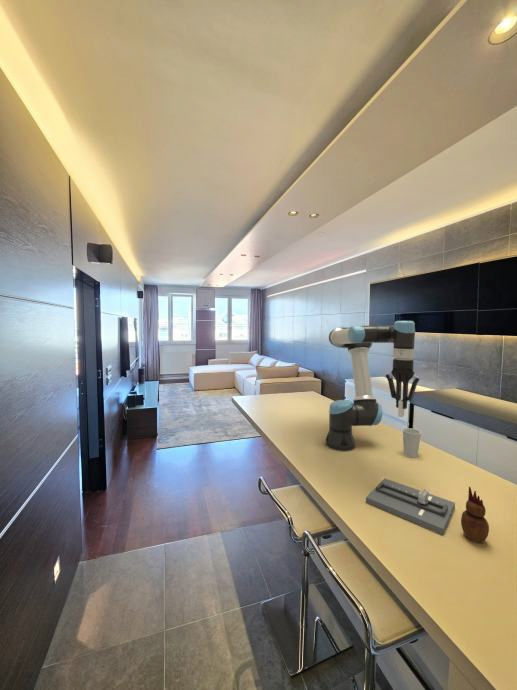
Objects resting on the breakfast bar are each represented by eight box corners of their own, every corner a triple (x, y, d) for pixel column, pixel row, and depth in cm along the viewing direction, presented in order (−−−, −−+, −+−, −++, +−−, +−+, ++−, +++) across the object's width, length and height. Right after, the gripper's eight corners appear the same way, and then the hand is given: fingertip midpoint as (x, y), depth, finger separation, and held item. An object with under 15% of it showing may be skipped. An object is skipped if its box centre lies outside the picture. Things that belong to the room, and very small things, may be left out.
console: (365, 502, 106) (366, 493, 106) (384, 482, 119) (384, 474, 119) (443, 535, 90) (443, 524, 89) (454, 508, 103) (455, 498, 102)
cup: (422, 459, 140) (423, 434, 139) (404, 457, 141) (405, 433, 141) (416, 452, 148) (417, 428, 147) (399, 450, 149) (400, 427, 148)
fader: (416, 505, 101) (416, 492, 100) (420, 499, 104) (420, 487, 104) (426, 509, 99) (426, 496, 98) (429, 503, 102) (430, 490, 102)
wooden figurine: (456, 530, 92) (458, 484, 90) (473, 529, 92) (476, 483, 91) (473, 547, 85) (476, 497, 84) (492, 545, 85) (495, 496, 84)
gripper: (383, 358, 121) (381, 414, 123) (418, 361, 112) (415, 421, 114) (389, 356, 126) (388, 410, 128) (423, 359, 118) (421, 417, 119)
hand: (401, 415), depth 121 cm, fingers closed
